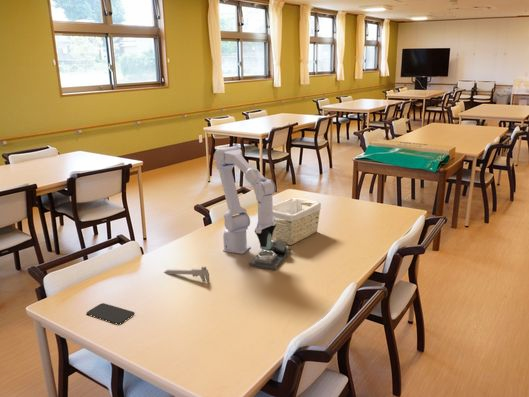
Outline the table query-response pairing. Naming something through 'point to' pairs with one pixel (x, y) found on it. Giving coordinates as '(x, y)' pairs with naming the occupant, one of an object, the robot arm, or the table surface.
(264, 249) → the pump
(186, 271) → the caliper
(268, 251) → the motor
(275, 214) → the storage basket
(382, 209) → the table surface
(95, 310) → the phone
